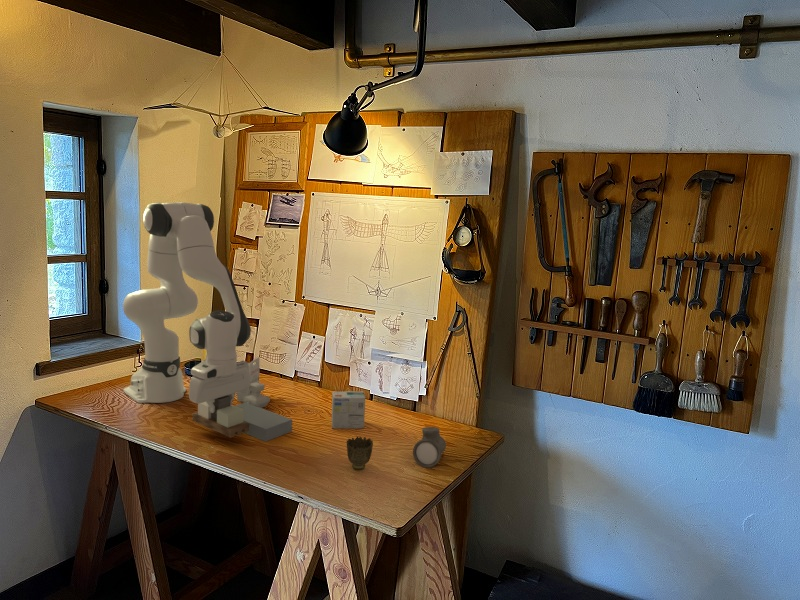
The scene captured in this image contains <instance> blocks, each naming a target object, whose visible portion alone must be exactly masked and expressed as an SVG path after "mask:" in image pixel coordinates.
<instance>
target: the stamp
mask: <svg viewBox="0 0 800 600" xmlns="http://www.w3.org/2000/svg"><path fill="white" fill-rule="evenodd" d="M265 386H266V385H265V384H264V383H262V382H261V383H260V382H259V383H258V382H254V383H251V384H250V387H249V390H250V391H252V392H253V394H252V395H249V396H246V397H244V398H243V402H242V403H245V402H246V403H249V404H252V405H254V406H257V407H260V408H264V407H266V406H267V405H268V404H269V403H270V402H271V398H270V397H269V396H268V395H264V394H261V392H263V391H265Z"/></svg>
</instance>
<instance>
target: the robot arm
mask: <svg viewBox="0 0 800 600" xmlns="http://www.w3.org/2000/svg"><path fill="white" fill-rule="evenodd" d="M142 219H143V221H142V222H143V227H144V229H145V231H146V232H147V233H148V234H149V238H148V250H147V259H146V260H147V262H146V269H147V271H148V272H147V273H148V274H150V275H151V276H152V277H153V278H155V279H156V280H159V281H160V287H157V288H156V287H155V288H145V289H140V290H137V291H133V292H131V293H128V294H127V295H126V296H125V297H124V299H123V303H122V311H123V313H124V315H125V317H126V318H127V319H128V320H129V321H131V322H132V323H133V324H135V325H136V326H137V327H138V328H139V330H140V331H141V333H142V336H143V343H144V357H142V358H140V359H141V362H142V365H141V368H139V370H137V371H136V372H134V373H133V374H132V375H131V376H130V377H131V378H130V385H129V386H126V387H124V388H123V393H125V394H126V395H128V396H129V397H130V398H131V399H132V400H134V401H135V402H136V403H138V404H139V403H140V404H143V403H144V404H146V403H152V404H153V403H154V404H155V403H157V404H159V403H161V404H162V403H172V402H174V401H177V400H180V399H182V398H183V397H184V395H185V393H186V391H187V388H186V387H185V386H184V377H183V370H182V369H181V357H180V352H179V349H180V345H179V343H180V342H179V341H180V340H179V336H178V334H177V333H176V332H174V331H173V330H171V329H169V328H167V327H166V326H165V320H168V319H169V320H171V319H175V318H176V319H177V318H178V319H179V318H183V317H186V316H188V315H192V314H194V312H196V310H197V308H198V304H199V301H198V300H199V299H198V295H197V293H196V292H195V291H194V289H193V288H191V287H190V286H189V285H188V284H187V283H186V280H185V279H184V278H185V277H184V275H183V272H184V274H186V275H187V276H188V277H189V278H192V279H193V280H196V281H200V282H203V283H206V284H209V285H210V286H212V287H214V288H215V289H216V290H217V291H218V292H219V294H220V297H221V299H222V302H223V307H224V308H225V310H213V311H211V312H210V313H208V315H207V316H204V317H200V318H196V319H194V321H193V322H192V323H191V324H190V327H189V331H188V333H189V334H188V335H189V341H190V343H191V344H192V345H193V346H194V347H195V348H197V349H199V350H206V355H205V359H204V360H203V361H201V362H200V363H198V364H196V365H194V366H193V367H192V368H191V369H190V374H191V375H192V377H191V378H190V380H189V384H188V385H189V388H188V398H189V401H190V402H192V403H195V404H196V405H198V404H199V403H203V402H207V404H208V405H209V411H210V412H211V413H214V412H217V406H214V404H213V402H214V399H217V398H220V397H223V396H227V395H228V396H230V397H231V401H230V406H232V405H233V401H234V399H235V397H236V394H237V392H241V391H244V390H247V389H249V387H250V374H249V364H248V363H249V362H247V361H246V360H240V361H238V354H237V351H236V348H237V347H243V345H244V344H246V343H247V342H248V340H249V339H250V336H251V334H252V329H251V325H250V322H249V319H248V318H247V316H246V314H245V312H244V309H243V306H242V304H241V300H240V297H239V294H238V291H237V288H236V285H235V282H234V280H233V276H232V275H231V273H230V270H229V268H228V267H227V266H225V265H224V264H222V262H221V261H220V259H219V257H218V256H217V254H216V250H215V249H216V248H215V243H214V239H213V236H212V233H211V231H212V230H213V228H214V225H215V217H214V213H213V211H212V209H211V207H209V205H208V206H207V205H206V204H202V203H193V202H183V201H180V202H179V201H178V202H154V203H149V204H147V206H146V207H145V208H144V211H143V218H142Z"/></svg>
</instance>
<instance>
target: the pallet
mask: <svg viewBox="0 0 800 600" xmlns="http://www.w3.org/2000/svg"><path fill="white" fill-rule="evenodd" d="M230 401H231V397H230V396H228V395H227V396H223V397H220V398H217V399H214V402H213V404H214V406H217V410H219V409H222V408H226V407H229V406H230ZM191 415H192V421H193V422H194V423H197V424H199V425H201V426H204V427H206V428H208V429H210V430H212V431H215V432H217V433H220V434H221V435H223V436H226V437H228V438H234V437H235V436H240V435H242V434H246V433H245V432H248V431H249V423H247V422H245V421H244V422H243V423H240V424H237V425H234V426H231V427H228V428H227V427H225V426H223V425H221V424H218V423H217V412H214V413H211V418H210V419H207V418H204V417H202V416H200V415H198V411H195V412H192V413H191ZM243 432H244V433H243Z"/></svg>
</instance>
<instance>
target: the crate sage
mask: <svg viewBox="0 0 800 600" xmlns="http://www.w3.org/2000/svg"><path fill="white" fill-rule="evenodd" d="M243 422H244V409H242V408H239V407H237V406H235V405H234V404H232V406H229V407H226V408H222V409H219V410H217V423H218V424H221V425H223V426H225V427H227V428H228V427H231V426H234V425H237V424H240V423H243Z"/></svg>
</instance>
